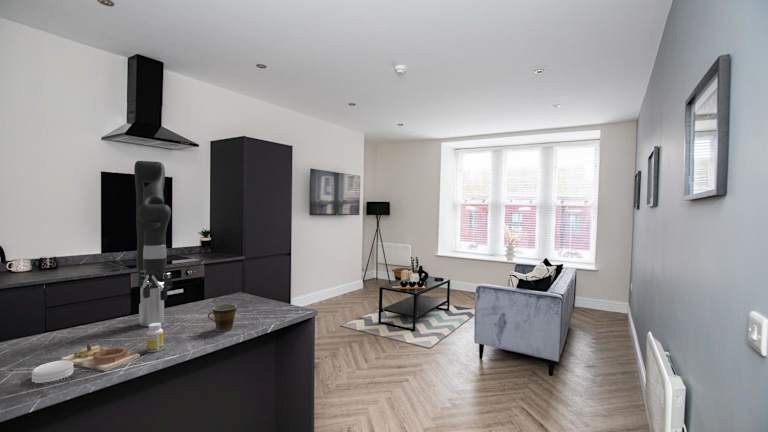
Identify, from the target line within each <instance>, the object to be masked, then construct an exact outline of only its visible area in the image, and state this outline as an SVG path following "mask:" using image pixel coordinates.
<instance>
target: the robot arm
mask: <svg viewBox="0 0 768 432" xmlns="http://www.w3.org/2000/svg"><path fill="white" fill-rule="evenodd" d="M133 169H134V171H133V172H134V173H133V174H134V184H135V198H136V199H135V200H136V203H135V204H136V206H135V207H136V208H135V209H136V210H135V211H136V212H135V215H136V216H135V218H136V219H135V222H136V237H137V242H136V262H135V263H136V270H137V272H138V283H137V284H138V287H140V294H139V295H140V303H139V304H138V325H140V326H141V327H149V325H150V324H152V323H161V325H162V324H163V323H165V301H166V300H167V299H168V290H169V289H173V277H172V276H173V275H172V272H165V270H166V269H167V245H166V243H167V241H166V239H167V238H166V237H167V235H166V234H167V228H168V224H169V221H170V219H171V217H172V216H171V215H172V210H171V207H170V206H169V205H167V204H165V198H164V197H165V195H164V188H165V181H166V170H165V166H164V164H163V163H162V162H160V161H154V160H153V161H152V160H151V161H148V160H137V161H135V163H134V168H133ZM145 183H148V184H147V185H146V186H145Z"/></svg>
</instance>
